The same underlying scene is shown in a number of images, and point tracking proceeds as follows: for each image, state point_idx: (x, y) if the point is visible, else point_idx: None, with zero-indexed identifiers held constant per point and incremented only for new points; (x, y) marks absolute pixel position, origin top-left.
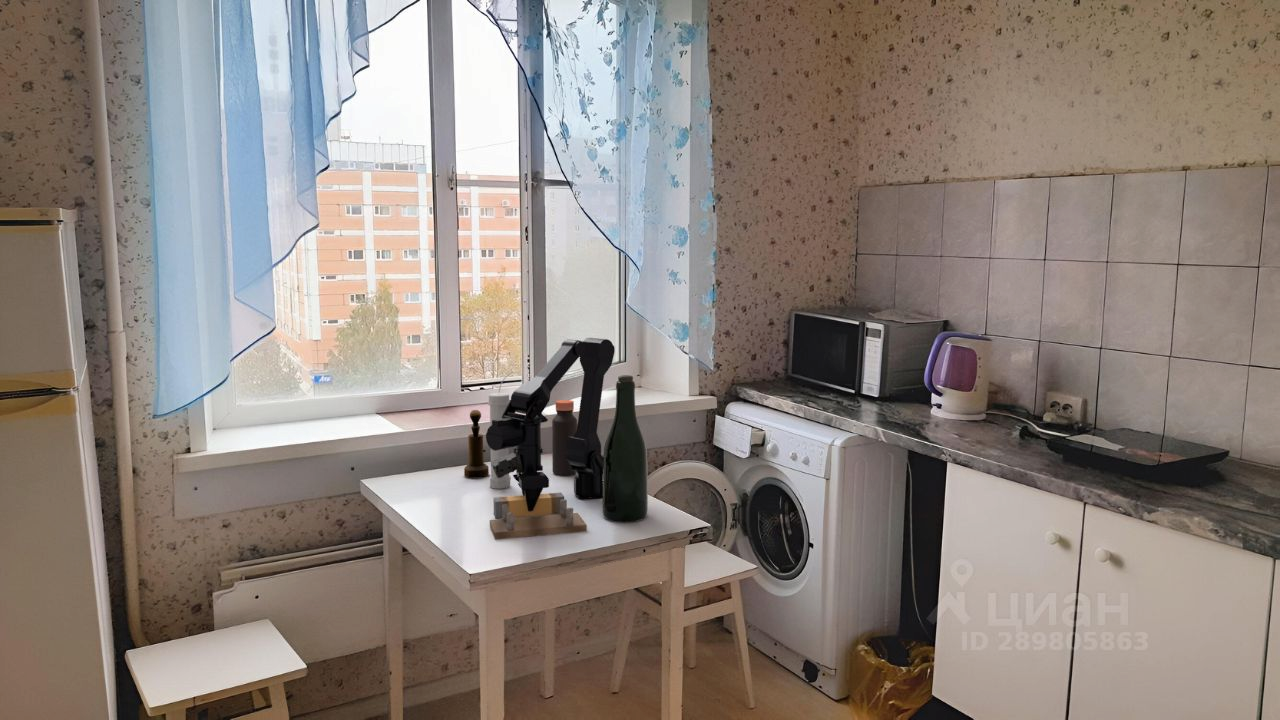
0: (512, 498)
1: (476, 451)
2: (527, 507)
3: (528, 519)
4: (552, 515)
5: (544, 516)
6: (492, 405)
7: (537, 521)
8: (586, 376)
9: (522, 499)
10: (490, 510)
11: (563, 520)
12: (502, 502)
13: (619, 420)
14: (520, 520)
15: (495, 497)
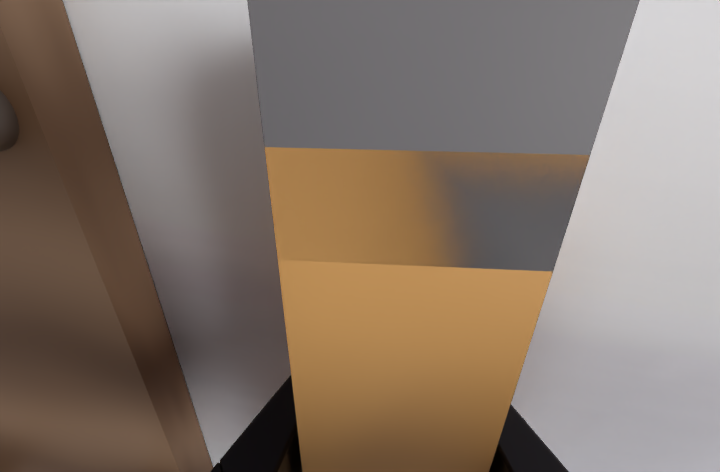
0: (397, 331)
1: None
2: None
3: (41, 311)
4: (155, 450)
5: (133, 412)
6: None
7: (4, 355)
8: None
9: (308, 417)
10: (682, 10)
11: (55, 469)
12: (271, 151)
13: None
14: (1, 249)
15: (615, 46)
